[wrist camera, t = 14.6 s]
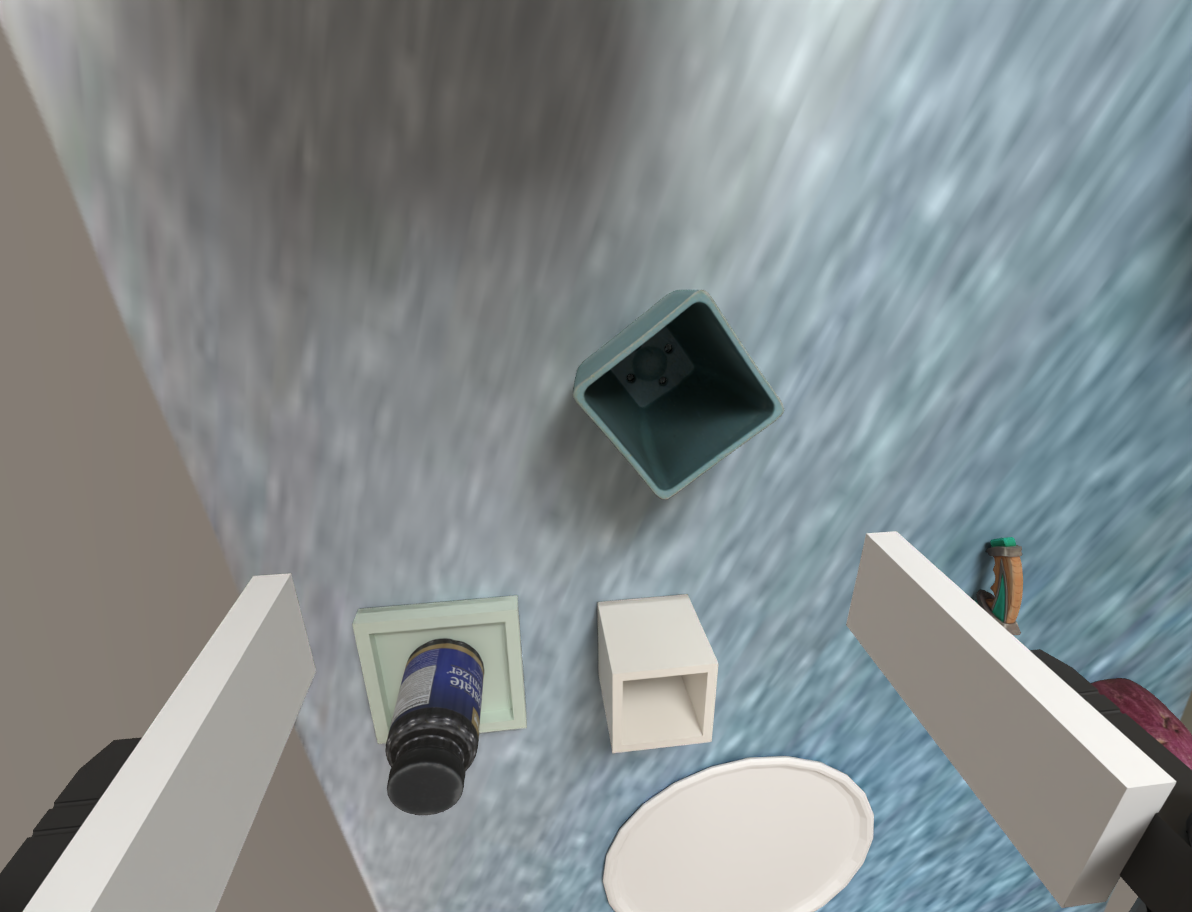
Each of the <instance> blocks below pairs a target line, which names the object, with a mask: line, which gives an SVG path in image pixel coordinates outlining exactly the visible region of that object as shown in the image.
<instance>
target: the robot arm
mask: <svg viewBox="0 0 1192 912" xmlns="http://www.w3.org/2000/svg"><path fill="white" fill-rule="evenodd" d="M846 625H847V626H848V628H849V629H850V630H851V632H852V633H853V634H854V636H855V637H856V638H857V640H858V641H859V642H860V644H861V645H862V646H863V647H864V649H865V650H866V651H867V653H868V654H869V655H870V657H871V658H872V659H873V661H874V662H875V663H876V665H877V666H878V667H879V668H880V670H881V671H882V672H883V674H884V675H885V676H886V678H887V679H888V680H889V682H890V683H891V684H892V686H893V687H894V688H895V689H896V691H897V692H898V693H899V695H900V696H901V697H902V699H903V700H904V701H905V703H906V704H907V705H908V707H909V708H910V709H911V710H912V712H913V713H914V714H915V716H916V717H917V718H918V720H919V721H920V722H921V724H922V725H923V726H924V728H925V729H926V730H927V731H928V733H929V734H930V735H931V737H932V738H933V739H934V741H935V742H936V743H937V745H938V746H939V747H940V748H941V750H942V751H943V752H944V754H945V755H946V756H947V758H948V759H949V760H950V762H951V763H952V764H953V766H954V767H955V768H956V769H957V771H958V772H959V773H960V775H961V776H962V777H963V779H964V780H965V781H966V783H967V784H968V785H969V787H970V788H971V789H972V790H973V792H974V793H975V794H976V796H977V797H978V798H979V800H980V801H981V802H982V804H983V805H984V806H985V808H986V809H987V810H988V811H989V813H990V814H991V815H992V817H993V818H994V819H995V821H996V822H997V823H998V825H999V826H1000V827H1001V829H1002V830H1003V831H1004V832H1005V834H1006V835H1007V836H1008V838H1009V839H1010V840H1011V842H1012V843H1013V844H1014V846H1015V847H1016V848H1017V850H1018V851H1019V852H1020V853H1021V855H1022V856H1023V857H1024V859H1025V860H1026V861H1027V863H1028V864H1029V865H1030V867H1031V868H1032V869H1033V870H1034V872H1035V873H1036V874H1037V876H1038V877H1039V878H1040V880H1041V881H1042V882H1043V884H1044V885H1045V886H1046V888H1047V889H1048V890H1049V891H1050V893H1051V894H1052V895H1053V897H1054V898H1055V899H1056V901H1057V902H1058V903H1059V905H1060V906H1061V907H1062V908H1066V907H1072V906H1079V905H1085V904H1092V903H1099V902H1105V901H1106V900H1107V899H1108V897H1109V895H1110V894H1111V892H1112V890H1113V889H1114V887H1115V885H1116V884H1117V882H1118V880H1119V879H1120V877H1122V878H1123V880H1124V881H1125V882H1126V883H1127V884H1128V885H1129V886H1130V888H1131V889H1132V890H1133V891H1134V892H1135V893H1136V894H1137V896H1138V898H1137V900H1136V902H1135V903H1134V905H1133V906H1132V908H1131V910H1130V911H1129V912H1192V770H1191V769H1190V768H1189V767H1188V766H1187V765H1185V764H1184V763H1183V762H1182V761H1181V760H1180V759H1178V758H1177V757H1176V756H1175V755H1174V754H1173V753H1171V752H1170V751H1169V750H1168V749H1167V748H1166V747H1164V746H1163V745H1162V744H1161V743H1160V742H1159V741H1157V740H1156V739H1155V738H1154V737H1153V736H1152V735H1150V734H1149V733H1148V732H1147V731H1146V730H1145V729H1143V728H1142V727H1141V726H1140V725H1139V724H1137V723H1136V722H1135V721H1134V720H1133V719H1132V718H1130V717H1129V716H1128V715H1127V714H1126V713H1125V714H1122V713H1121V712H1120V708H1119V707H1118V706H1116V705H1115V704H1114V703H1113V702H1112V701H1111V700H1109V699H1108V698H1107V697H1106V696H1105V695H1100V694H1099V692H1098V689H1097V688H1095V687H1094V686H1093V685H1092V684H1091V683H1090V682H1088V681H1087V680H1086V679H1085V678H1084V677H1083V676H1081V675H1080V674H1079V673H1078V672H1077V671H1076V670H1074V669H1073V668H1072V667H1070V666H1068V665H1067V664H1065V663H1063V662H1061V661H1060V660H1058V659H1056V658H1054V657H1053V656H1051V655H1049V654H1047V653H1046V652H1044V651H1042V650H1040V649H1039V650H1028V649H1027V648H1026V647H1025V646H1024V645H1023V644H1022V643H1021V642H1020V641H1018V640H1017V639H1016V638H1015V637H1014V636H1013V635H1012V634H1011V633H1009V632H1008V631H1007V630H1006V629H1005V628H1004V627H1003V626H1002V625H1000V624H999V623H998V622H997V621H996V620H995V619H994V618H993V617H992V616H990V615H989V614H988V613H987V612H986V611H985V610H984V609H983V608H981V607H980V606H979V605H978V604H977V603H976V602H975V601H974V600H972V599H971V598H970V597H969V596H968V595H967V594H966V593H965V592H964V591H962V590H961V589H960V588H959V587H958V586H957V585H956V584H955V583H953V582H952V581H951V580H950V579H949V578H948V577H947V576H946V575H944V574H943V573H942V572H941V571H940V570H939V569H938V568H937V567H936V566H934V565H933V564H932V563H931V562H930V561H929V560H928V559H927V558H925V557H924V556H923V555H922V554H921V553H920V552H919V551H918V550H916V549H915V548H914V547H913V546H912V545H911V544H910V543H909V542H908V541H906V540H905V539H904V538H903V537H902V536H901V535H900V534H899V533H897V532H896V531H895V532H881V533H866V537H865V542H864V546H863V551H862V556H861V560H860V565H859V569H858V574H857V578H856V583H855V587H854V592H853V597H852V601H851V606H850V610H849V615H848V619H847V624H846ZM315 673H316V668H315V664H314V661H313V657H312V653H311V649H310V645H309V641H308V637H307V633H306V629H305V626H304V622H303V618H302V614H301V610H300V606H299V602H298V598H297V594H296V591H295V587H294V583H293V579H292V575H291V573H289V574H275V575H260V576H253V577H252V579H251V580H250V582H249V583H248V584H247V586H246V587H245V589H244V590H243V592H242V593H241V595H240V596H239V598H238V599H237V601H236V602H235V603H234V605H233V606H232V608H231V609H230V611H229V612H228V614H227V615H226V617H225V618H224V620H223V621H222V622H221V624H220V625H219V627H218V628H217V630H216V631H215V633H214V634H213V635H212V637H211V639H210V640H209V641H208V643H207V644H206V646H205V647H204V649H203V650H202V651H201V653H200V654H199V656H198V657H197V659H196V660H195V662H194V663H193V665H192V666H191V668H190V669H189V670H188V672H187V673H186V675H185V676H184V678H183V679H182V680H181V682H180V683H179V685H178V686H177V688H176V689H175V691H174V692H173V694H172V695H171V697H170V698H169V699H168V701H167V702H166V704H165V705H164V707H163V708H162V710H161V711H160V713H159V714H158V716H157V717H156V718H155V720H154V721H153V723H152V724H151V726H150V727H149V728H148V730H147V731H146V733H145V734H144V736H143V737H142V738H132V739H122V740H114V741H113V742H111V743H110V744H109V745H108V746H107V747H106V748H104V749H103V750H102V751H101V752H100V753H98V754H97V755H96V756H95V757H93V758H92V759H91V760H90V761H89V762H88V763H86V764H85V765H84V766H83V767H82V768H80V769H79V770H78V772H77V773H76V774H75V776H74V777H73V778H72V780H71V781H70V782H69V784H68V785H67V786H66V788H65V789H64V790H63V792H62V793H61V794H60V795H59V797H58V798H57V799H56V801H55V802H54V807H53V809H49V810H48V811H47V813H46V814H45V815H44V817H43V818H42V819H41V821H40V822H39V823H38V824H37V826H36V827H35V828H34V830H33V835H32V837H29V838H27V839H26V840H25V842H24V843H23V844H22V846H21V847H20V848H19V849H18V851H17V852H16V853H15V855H14V856H13V857H12V859H11V860H10V861H9V863H8V864H7V865H6V867H5V868H4V869H3V871H2V872H1V873H0V912H215V911H216V909H217V906H218V904H219V902H220V899H221V897H222V895H223V892H224V890H225V888H226V885H227V883H228V880H229V878H230V875H231V873H232V871H233V868H234V866H235V864H236V861H237V859H238V857H239V854H240V852H241V849H242V847H243V844H244V842H245V840H246V837H247V835H248V833H249V830H250V828H251V825H252V823H253V821H254V818H255V816H256V814H257V811H258V809H259V806H260V804H261V802H262V799H263V797H264V794H265V792H266V790H267V787H268V785H269V782H270V780H271V778H272V775H273V773H274V771H275V768H276V766H277V764H278V761H279V759H280V756H281V754H282V751H283V749H284V747H285V744H286V742H287V740H288V737H289V735H290V732H291V730H292V728H293V725H294V723H295V721H296V718H297V716H298V713H299V711H300V709H301V706H302V704H303V702H304V699H305V697H306V694H307V692H308V690H309V687H310V685H311V682H312V680H313V678H314V675H315Z"/></svg>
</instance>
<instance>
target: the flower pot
mask: <svg viewBox="0 0 1192 912" xmlns="http://www.w3.org/2000/svg"><path fill="white" fill-rule="evenodd" d="M667 344H671V345H672V350H671V351H669V352H667V351H665V346H666V345H667ZM629 374H633V376H634V380H632V381H628V380H627V376H628V375H629ZM661 377H665V378H666V382H665V383H664V384H661V383H660V382H659V380H660V378H661ZM573 397H574V399H575V401H576V402H577V403H578V405H579V406H580V407H581V408H582V409H583V410H584V411H585V412H586V413H587V415H588V416H589V417H590V418H591V419H592V420H593V422H594V423H595V424H596V425H597V426H598V427H599V428H600V429H601V430H602V432H603V433H604V434H605V435H606V436H607V437H608V438H609V440H610V441H611V442H612V443H613V444H614V445H615V447H616V448H617V449H618V450H619V451H620V453H621V454H622V455H623V456H624V457H625V458H626V460H627V461H628V462H629V463H630V464H631V465H632V467H633V468H634V469H635V470H636V471H637V473H638V474H639V475H640V476H641V478H642V479H643V480H644V481H645V482H646V483H647V485H648V486H649V487H650V489H651V490H652V491H653V492H654V494H655V495H656V496H658V497H659V498H660V499H663V500H665V499H669V498H671V497H672V496H674V495H675V494H677V493H678V492H679V491H680V490H682V489H683V488H685V487H686V486H687V485H688V484H690V483H691V482H693V481H694V480H695V479H696V478H698V477H699V476H700V475H702V474H703V473H704V472H706V471H707V470H709V469H710V468H712V467H713V466H714V465H715V464H717V463H718V462H719V461H721V460H722V459H723V458H725V457H726V456H728V455H729V454H731V453H732V452H733V451H735V450H736V449H737V448H738V447H740V446H742V445H743V444H744V443H746V442H747V441H749V440H750V439H751V438H752V437H754V436H755V435H756V434H758V433H759V432H761V431H762V430H764V429H765V428H767V427H768V426H769V425H771V424H772V423H774V422H775V421H776V420H777V419H778V418H779V417H780V416H781V415H782V414H783V412H784V407H783V404H782V402H781V400H780V399H779V397H778V396H777V395H776V393H775V392H774V390H773V389H772V387H771V386H770V385H769V383H768V382H767V380H766V379H765V378H764V376H763V375H762V373H761V372H760V370H759V369H758V367H757V366H756V365H755V363H754V361H753V360H752V358H751V357H750V356H749V354H748V352H747V351H746V350H745V348H744V346H743V345H742V344H741V342H740V340H739V339H738V337H737V336H736V334H735V333H734V331H733V330H732V328H731V326H730V325H729V324H728V322H727V320H726V319H725V317H724V316H723V314H722V313H721V311H720V310H719V308H718V307H717V305H716V303H715V302H714V300H713V299H712V297H711V296H710V295H709V294H708V293H707V292H706V291H704V290H676V291H673V292H671V293H669V294H668V295H666V296H665V297H664V298H662V299H661V300H660V301H659V302H657V303H656V304H655V305H654V306H653V307H651V308H650V309H649V310H648V311H646V312H645V313H644V314H643V315H641V316H640V317H639V318H638V319H637V320H635V321H634V322H633V323H632V324H630V325H629V326H628V327H627V328H625V329H624V330H623V331H622V332H620V333H619V334H618V335H617V336H615V337H614V338H613V339H612V340H610V341H609V342H608V343H606V344H605V345H604V346H603V347H601V348H600V349H599V350H598V351H596V352H595V353H594V354H592V355H591V356H590V357H588V358H587V359H586V360H585V361H584V362H583V363H582V364H581V365H580V366H579V368H578V370H577V373H576V377H575V383H574V390H573Z"/></svg>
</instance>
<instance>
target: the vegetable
mask: <svg viewBox="0 0 1192 912" xmlns="http://www.w3.org/2000/svg"><path fill="white" fill-rule="evenodd" d="M1091 684H1092V685H1093V686H1094V687H1095V688H1097V689H1098V692H1099V694H1100V695H1105V696H1106V697H1107V698H1108V699H1109V700H1111V701H1112V702H1113V703H1114V704H1115V705H1116V706H1118V707H1119V708H1120V712H1121V713H1122V714H1125V713H1126V714H1127V715H1128V716H1129V717H1130V718H1132V719H1133V720H1134V721H1135V722H1136V723H1137V724H1139V725H1140V726H1141V727H1142V728H1143V729H1145V730H1146V731H1147V732H1148V733H1149V734H1150V735H1152V736H1153V737H1154V738H1155V739H1156V740H1157V741H1159V742H1160V743H1161V744H1162V745H1163V746H1164V747H1166V748H1167V749H1168V750H1169V751H1170V752H1171V753H1173V754H1174V755H1175V756H1176V757H1177V758H1178V759H1180V760H1181V761H1182V762H1183V763H1184V764H1185V765H1187V766H1188V767H1189V768H1190V769H1191V770H1192V735H1191V733H1190V732H1189V730H1188V729H1187V728H1186V727H1185V726H1184V724H1183V723H1182V722H1181V721H1180V720H1179V719H1178V718H1177V717H1176V716H1175V715H1174V714H1173V713H1172V712H1171V711H1170V710H1169V709H1168V708H1167V707H1166V706H1165V705H1164V704H1163V703H1162V702H1161V701H1160V700H1159V699H1158V698H1156V697H1155V696H1154V695H1153V694H1152V693H1150V692H1149V691H1148V690H1146V689H1145V688H1143V687H1142V686H1140V685H1139V684H1137V683H1135V682H1133V681H1131V680H1129V679H1125V678H1123V679H1122V678H1116V679H1107V680H1100V681H1097V682H1094V683H1091Z"/></svg>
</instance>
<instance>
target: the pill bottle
mask: <svg viewBox="0 0 1192 912" xmlns="http://www.w3.org/2000/svg"><path fill="white" fill-rule="evenodd" d="M483 678H484V665H483V661H482V659H481V657H480V655H479V653H478V652H477V651H476V650H475V649H474V648H473V647H471V646H470V645H468V644H467V643H465V642H461V641H456V640H452V639H447V638H443V639H434V640H432V641H429V642H427V643H425V644H423V645H421V646H420V647H418V648H417V649H416V650H415V651H414V652H413V653H412V654H411V655H410V657H409V659H408V661H407V664H406V667H405V671H404V675H403V679H402V682H401V686H400V690H399V694H398V698H397V702H396V706H395V710H394V714H393V718H392V722H391V726H390V730H389V733H388V738H387V741H386V756H387V760H388V762H389V764H390V766H391V767H392V768H391V770H390V774H389V780H388V785H387V792H388V796H389V798H390V800H391V802H392V803H393V804H394V805H395V806H396V807H398V808H399V809H400V810H402V811H404V812H407V813H410V814H415V815H431V814H437V813H440V812H444V811H445V810H447V809H449V808H451V807H452V806H453V805H455V804H456V803H457V801H458V800H459V799H460V797H461V795H462V792H463V787H464V779H465V771H466V770H467V769H468V768H469V767H470V765H471V764H472V762H473V760H474V758H475V757H476V753H477V748H478V738H479V726H480V715H481V703H482V691H483Z"/></svg>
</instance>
